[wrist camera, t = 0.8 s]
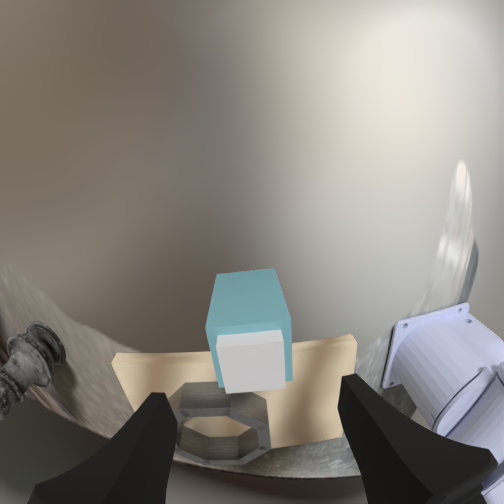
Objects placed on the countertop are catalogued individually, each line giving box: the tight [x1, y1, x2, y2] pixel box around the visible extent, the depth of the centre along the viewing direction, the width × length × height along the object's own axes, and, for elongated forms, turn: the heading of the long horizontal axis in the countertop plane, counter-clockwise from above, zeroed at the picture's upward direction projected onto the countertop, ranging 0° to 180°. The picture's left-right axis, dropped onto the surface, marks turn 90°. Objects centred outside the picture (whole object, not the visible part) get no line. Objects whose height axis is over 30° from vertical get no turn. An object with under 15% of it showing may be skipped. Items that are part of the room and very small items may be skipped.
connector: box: [205, 268, 293, 394], centre depth 16 cm, size 4×4×8 cm
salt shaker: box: [0, 321, 66, 420], centre depth 15 cm, size 6×6×12 cm
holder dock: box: [111, 334, 357, 465], centre depth 21 cm, size 20×13×4 cm, turn 96°
